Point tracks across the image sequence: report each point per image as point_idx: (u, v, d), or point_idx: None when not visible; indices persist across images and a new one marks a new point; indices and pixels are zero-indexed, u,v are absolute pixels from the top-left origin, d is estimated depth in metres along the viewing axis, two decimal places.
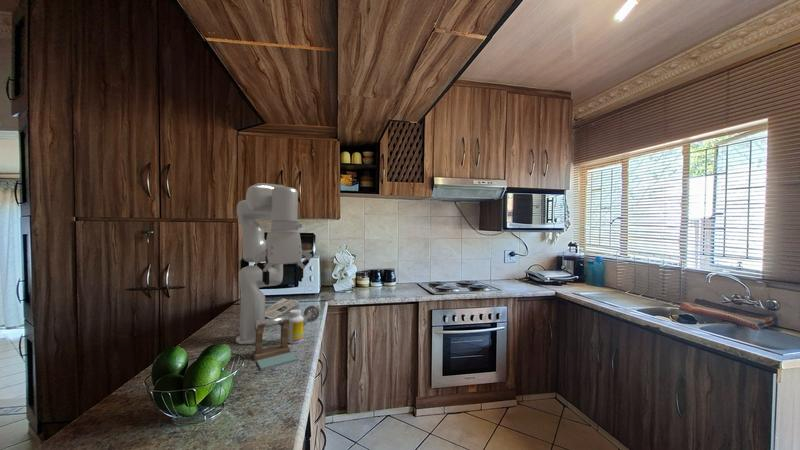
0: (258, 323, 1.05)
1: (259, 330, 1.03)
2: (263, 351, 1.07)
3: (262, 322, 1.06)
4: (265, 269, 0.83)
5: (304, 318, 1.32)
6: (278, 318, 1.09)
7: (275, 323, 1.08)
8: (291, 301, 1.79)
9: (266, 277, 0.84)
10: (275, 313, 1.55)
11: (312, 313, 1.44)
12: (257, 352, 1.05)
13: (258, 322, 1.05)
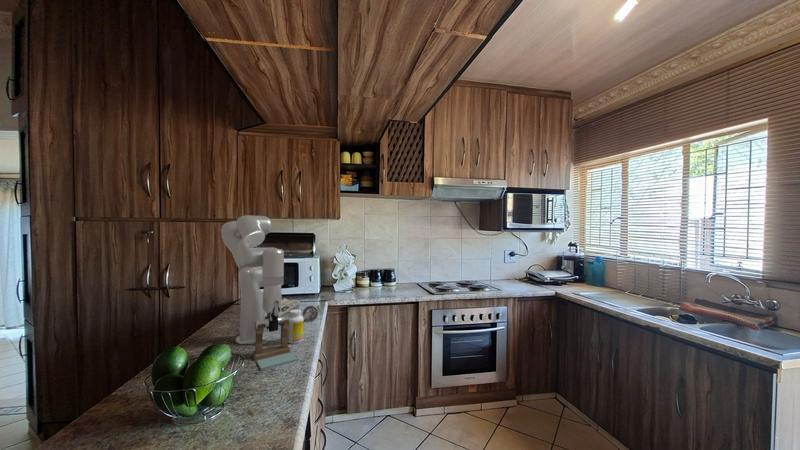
0: (258, 323, 1.04)
1: (259, 330, 1.03)
2: (263, 351, 1.07)
3: (262, 322, 1.05)
4: None
5: None
6: (278, 318, 1.09)
7: None
8: (292, 301, 1.79)
9: (276, 324, 1.08)
10: None
11: (310, 313, 1.44)
12: (257, 352, 1.05)
13: (258, 322, 1.05)
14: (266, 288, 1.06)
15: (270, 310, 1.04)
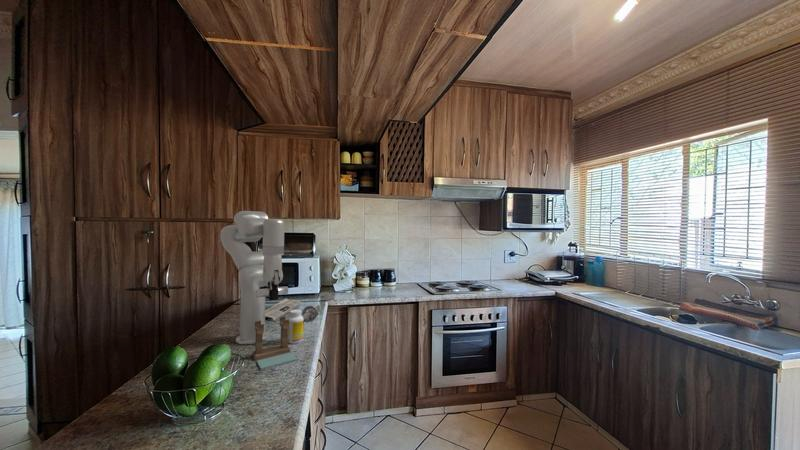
0: (258, 292, 1.05)
1: (259, 330, 1.03)
2: (263, 351, 1.07)
3: (262, 291, 1.06)
4: (277, 287, 1.08)
5: None
6: (278, 288, 1.10)
7: None
8: (293, 301, 1.79)
9: (277, 293, 1.08)
10: (278, 313, 1.55)
11: (309, 313, 1.44)
12: (257, 352, 1.05)
13: (258, 291, 1.05)
14: (267, 257, 1.06)
15: (270, 278, 1.04)
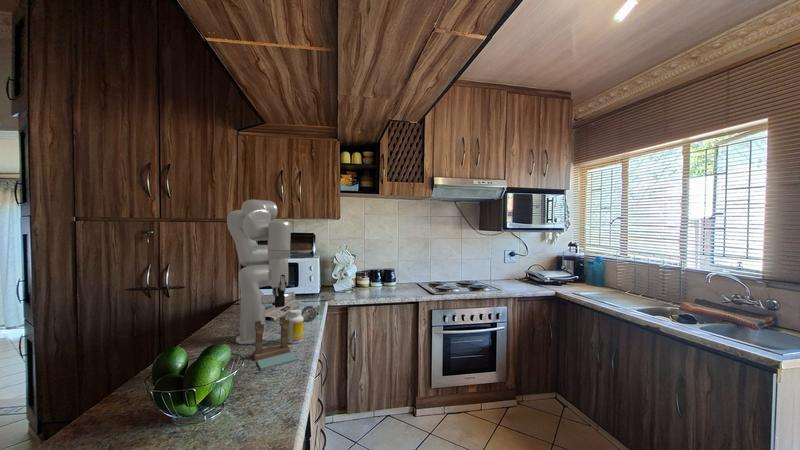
0: (264, 298, 0.98)
1: (259, 330, 1.03)
2: (263, 351, 1.07)
3: (268, 298, 0.99)
4: None
5: None
6: (285, 294, 1.03)
7: None
8: (294, 301, 1.79)
9: (283, 300, 1.01)
10: (278, 313, 1.55)
11: (309, 313, 1.44)
12: (257, 352, 1.05)
13: (264, 297, 0.99)
14: (272, 261, 0.99)
15: (276, 284, 0.97)
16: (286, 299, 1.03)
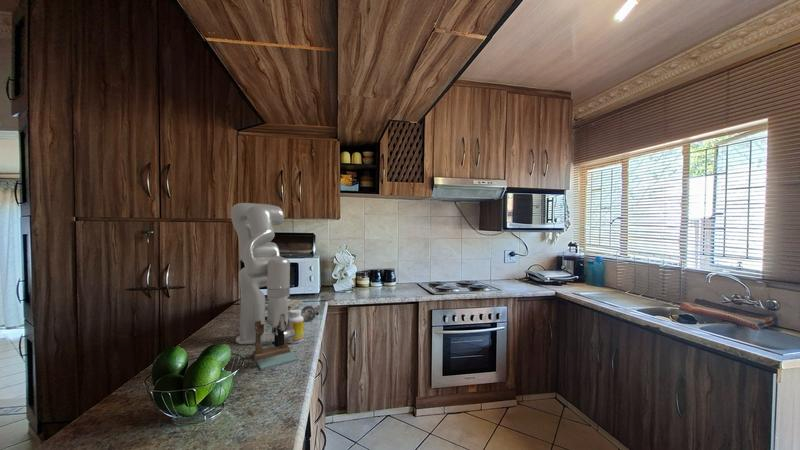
0: (263, 338, 0.98)
1: (259, 330, 1.03)
2: (263, 351, 1.07)
3: (267, 337, 0.99)
4: None
5: None
6: (284, 332, 1.03)
7: None
8: (295, 301, 1.79)
9: (282, 338, 1.01)
10: None
11: (308, 313, 1.44)
12: (257, 352, 1.05)
13: (263, 337, 0.98)
14: (272, 300, 0.99)
15: (276, 324, 0.97)
16: (286, 337, 1.03)
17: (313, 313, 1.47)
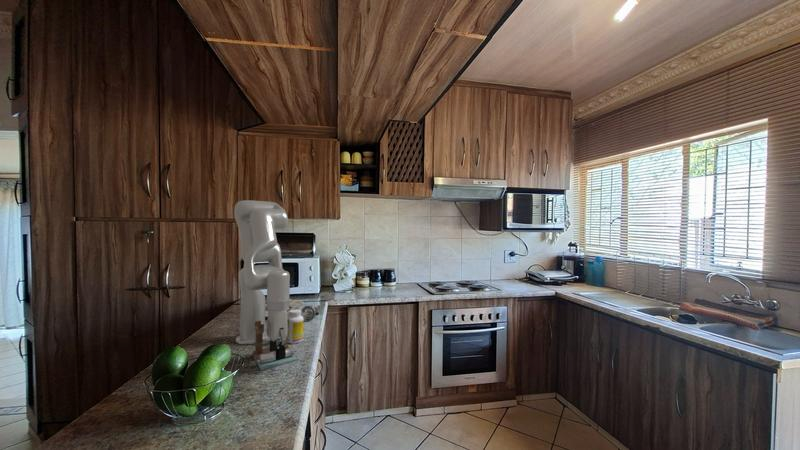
0: (262, 358, 0.98)
1: (259, 330, 1.03)
2: (263, 351, 1.07)
3: (266, 356, 0.99)
4: None
5: None
6: None
7: None
8: (296, 301, 1.79)
9: (284, 351, 0.99)
10: None
11: (307, 313, 1.44)
12: (257, 352, 1.05)
13: (262, 357, 0.99)
14: (271, 314, 0.99)
15: (275, 338, 0.97)
16: None
17: (312, 313, 1.47)
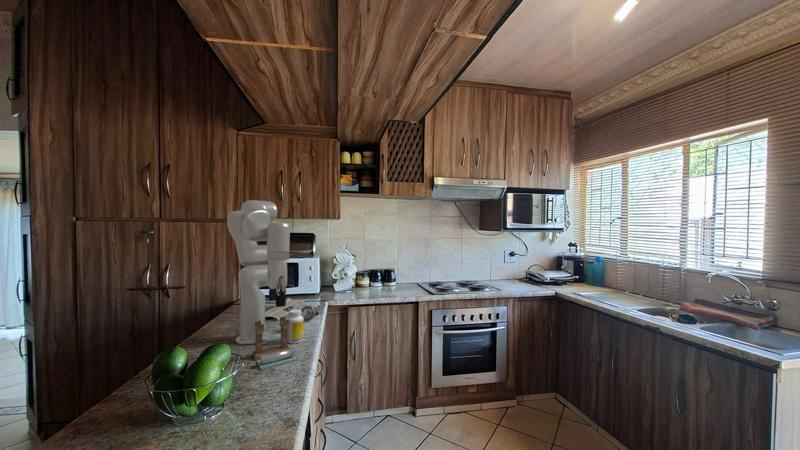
0: (263, 361, 0.98)
1: (259, 330, 1.03)
2: (263, 351, 1.07)
3: (267, 359, 0.98)
4: None
5: None
6: (284, 353, 1.02)
7: (280, 359, 1.01)
8: (297, 301, 1.79)
9: (284, 299, 1.00)
10: (282, 313, 1.55)
11: (306, 313, 1.44)
12: (257, 352, 1.05)
13: (263, 359, 0.98)
14: (271, 263, 1.00)
15: (275, 285, 0.98)
16: (285, 358, 1.02)
17: (311, 313, 1.47)
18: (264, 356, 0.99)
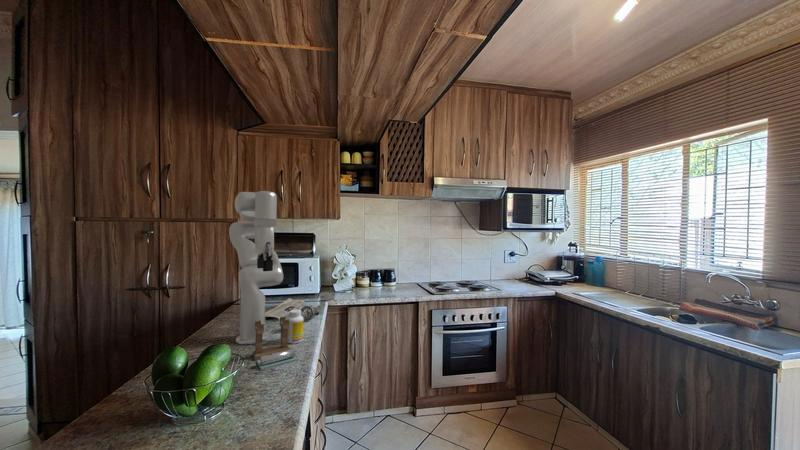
0: (263, 363, 0.97)
1: (259, 330, 1.03)
2: (263, 351, 1.07)
3: (267, 362, 0.98)
4: None
5: None
6: (285, 356, 1.01)
7: None
8: (297, 301, 1.79)
9: (271, 264, 1.04)
10: (283, 313, 1.55)
11: (305, 313, 1.44)
12: (257, 352, 1.05)
13: (263, 362, 0.97)
14: (259, 229, 1.04)
15: (262, 251, 1.02)
16: None
17: (311, 313, 1.47)
18: (265, 358, 0.98)
